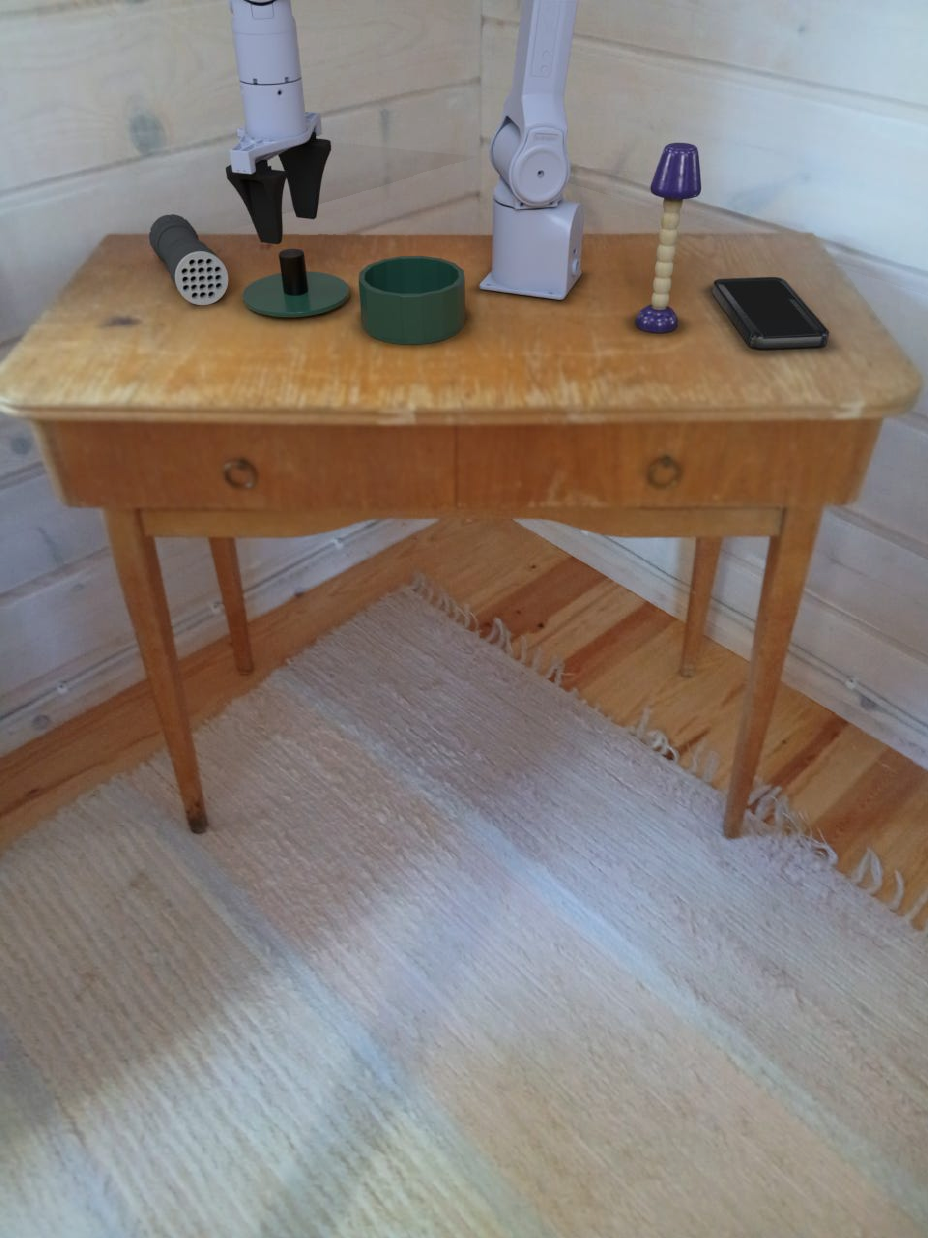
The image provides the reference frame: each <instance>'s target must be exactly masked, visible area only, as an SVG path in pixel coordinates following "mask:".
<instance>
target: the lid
mask: <svg viewBox="0 0 928 1238" xmlns="http://www.w3.org/2000/svg"><path fill="white" fill-rule="evenodd" d="M278 259H279V267H280V272H279V273H275V274H271V275H267V276H264V277H261V278H258V279H256V280H254V281H252V282H251V283H250V284H248V285H247V286H246V287H245V288H244V289H243V291H242V294H241V296H242V302H243V303H244V306H246V307H247V308H248V309H249V310H251V311H253V312H254V313H257V314H260V315H264V316H269V317H277V318H301V317H309V316H310V317H311V316H317V315H319V314H323V313H328V312H330V311H333V310H335V309H336V308H338V307H340V306H342V305H343V304H344V303H346V302H347V301H348V299H349V297H350V286H349V284H348V283H347V282H346V281H345V280H344V279H342V278H340V277H339V276H336V275H333V274H330V273H327V272H320V271H311V270H310V271H307V265H306V258H305V252H304V250H302V249H300V248H287V249H283V250H280V251H279V253H278Z"/></svg>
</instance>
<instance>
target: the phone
mask: <svg viewBox="0 0 928 1238" xmlns="http://www.w3.org/2000/svg"><path fill="white" fill-rule="evenodd" d="M711 292H712V295H713V296H714V297H715V299H716V300H717V302H718V304H719V305H720V307H721V308H722V309H723V311H724V312H725V314H726V315H727V316H728V318H729V320H730V321H731V323H732V324H733V325H734V327H735V328H736V330H737V331H738V332H739V334H740V335H741V337H742V338H743V339H744V341H745V343H746V345H748V347H750V348H752V349H755V350H784V349H785V350H786V349H808V348H823V347H826V346H827V344H828V340H829V336H830V331H829V329H827V327H826V326H825V325H824V323H823V322H822V321H821V320H820V319H819V318H818V316H816V314H815V313H814V312H813V311H812V309H811V308H810V307H809V305H807V304H806V303H805V301H804V300H803V299H802V298H801V297H800V296H799V294H798V293H797V292H796V291H795V290H794V289H793V287H792V286H791V285H790V284H789V283H788V281H786V279H784V278H781V277H777V276H760V277H759V276H758V277H757V276H756V277H732V278H717V279H715V280H714V281H713V285H712V291H711Z"/></svg>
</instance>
